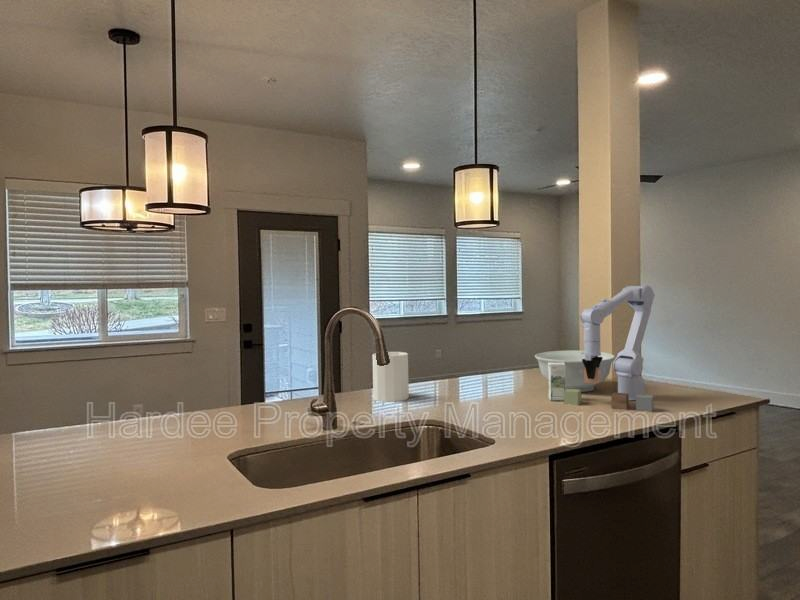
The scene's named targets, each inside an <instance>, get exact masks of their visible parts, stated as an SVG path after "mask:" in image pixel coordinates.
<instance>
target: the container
mask: <svg viewBox="0 0 800 600" xmlns="http://www.w3.org/2000/svg"><path fill="white" fill-rule="evenodd" d="M387 352H388V355H389V359H390V363H389V364H388V365H384V366H379V365H377V360H376V353H377V352H375V353H372V354H371V355H372V387H373V388H372V390H373V391H372V392H373V393H372V394H373V395H372V396H373V397H372V398H373V400H374V401H377V402H387V403H389V402H392V403H393V402H394V403H395V402H402V401H403V402H404V401H405V400H408V399H409V398H410V396H409V395H410V394H409V388H410V387H409V384H410V383H409V353H407V352H404V351H387Z"/></svg>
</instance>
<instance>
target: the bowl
mask: <svg viewBox="0 0 800 600" xmlns="http://www.w3.org/2000/svg"><path fill="white" fill-rule="evenodd" d="M581 352H584V350H583V349H582V350H579V349H578V350H577V349H576V350H574V349H573V350H571V349H568V350H553V351H552V350H551V351H544V352H539V353H536V354H534V358H535V359H536V360H537V363H538V367H539V370H540V373H541V374H542V376H543V378H544V379H546V380H547V381H548V362H564V364H565V367H566V368H565V377H566V378H565V380H566V381H565V385H566V389H577V390H581V393H586V392H591V391H594V389H595V386H596V385H599V384H600V383H603V381H605V380H606V379H607V378H608V376H609V374H610V372H611V366H612V364H613V363H612V362H614V360H615V359H616V356H615V355H614V354H612V353H609V352H604V351H600V353H601V355H600V356H598V357H603V359H602V361H601V363H600V366H599V368H601V381H600V382H599V383H589V382H584V368H585V366H584V364H583V362H582V359H585V355H583V354H581Z"/></svg>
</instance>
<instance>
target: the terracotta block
mask: <svg viewBox="0 0 800 600" xmlns="http://www.w3.org/2000/svg"><path fill="white" fill-rule="evenodd" d="M600 381H601V368H598V367H596V370H595V377H594V379H588V377H587V373H586V369H585V368H584V382H589V383H599V382H600ZM599 384H600V383H599Z"/></svg>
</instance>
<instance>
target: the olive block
mask: <svg viewBox="0 0 800 600" xmlns="http://www.w3.org/2000/svg"><path fill="white" fill-rule="evenodd" d="M563 403H564V405H568V404H570V405H571V406H579V405H580V404H582V392H581V390H577V389H566V390H565V391H564V401H563ZM570 405H569V406H570Z"/></svg>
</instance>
